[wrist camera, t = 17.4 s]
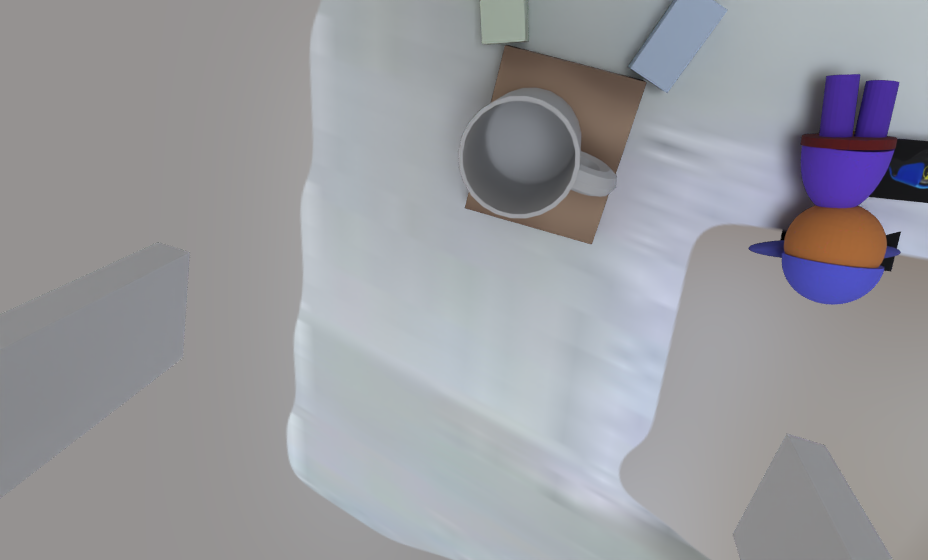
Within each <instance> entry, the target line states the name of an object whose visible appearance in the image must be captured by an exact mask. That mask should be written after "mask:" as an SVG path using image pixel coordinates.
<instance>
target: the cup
mask: <svg viewBox="0 0 928 560" xmlns="http://www.w3.org/2000/svg"><path fill="white" fill-rule="evenodd" d="M458 156H459V169H460V173H461V176H462V179H463V182H464V184H465V186H466V187H467V189H468V191H469V192H470V194H471V196H472V197H473V198H474V199H475V200H476V201H477V202H479V203H480V204H481V205H482V206H483V207H484V208H486V209H488V210H490V211H491V212H493V213H495V214H497V215H501V216H505V217H508V218H529V217H534V216H538V215H541V214H543V213H545V212H547V211H549V210H551V209H552V208H554V207H556V206H557V205H558V204H559V203H560V202H561V201H562V200H563V199H564V198H565V197H566V196H567V194H568V193H569V191H570V190H573V191H575V192H578V193H581V194H584V195H588V196H599V197H601V196H607V195H608V194H609V193H610V192H611V191H613V190H614V189H615V188H616V174H615V173H614V172H613V171H612V170H611V169H610V167H609V166H608V165H607V164H605V163H604V162H603V161H601V160H599V159H598V158H596V157H594V156H592V155H589V154H587V153H585V152H582V151H581V130H580V126H579V121H578V119H577V117H576V115H575V113H574V111H573V110H572V108H571V107H570V106H569V105H568V104H567V102H566V101H565V100H564V99H563V98H561V97H560V96H558V95H556V94H555V93H553V92H551V91H548V90H544V89H540V88H521V89H518V90H514V91H511V92H509V93H507V94H505V95H504V96H502V97H500V98H498V99H497V100H495V101H493V102H492V103H490V104H489V105H487V106H485V107H484V108H482V109H481V110H480V111H479V112H478V113H477V114H476V115H475V116H474V117H473V118H472V119H471V120H470V121H469V123H468V125H467V127H466V129H465V131H464V133H463V135H462V137H461V142H460V146H459V151H458Z"/></svg>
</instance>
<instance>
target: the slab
mask: <svg viewBox="0 0 928 560" xmlns="http://www.w3.org/2000/svg"><path fill="white" fill-rule="evenodd" d="M646 83H647V82H645V81H643V80H640V79H636V78H632V77H628V76H624V75H620V74H617V73H613V72H609V71H605V70H601V69H598V68H594V67H590V66H586V65H582V64H578V63H575V62H571V61H567V60H563V59H559V58H555V57H552V56H548V55H544V54H540V53H536V52H532V51H529V50H525V49H521V48H517V47H513V46H510V45H505V47H504V52H503V56H502V60H501V64H500V68H499V72H498V76H497V80H496V84H495V88H494V92H493V96H492V100H491V103H492V102H493V101H495V100H497V99H498V98H500V97H502V96H504V95H505V94H507V93H509V92H511V91H514V90H518V89H521V88H540V89H544V90H548V91H551V92H553V93H555V94H556V95H558V96H560V97H561V98H563V99H564V100H565V101H566V102H567V104H568V105H569V106H570V107H571V108H572V110H573V111H574V113H575V115H576V117H577V119H578V121H579V126H580V130H581V151H582V152H585V153H587V154H589V155H592V156H594V157H596V158H598V159H599V160H601V161H603V162H604V163H605V164H607V165H608V166H609V167H610V169H611V170H612V171H613V172H614V173H615V174H616V171H617V168H618V165H619V163H620V160H621V157H622V154H623V151H624V148H625V145H626V142H627V139H628V136H629V133H630V130H631V127H632V124H633V121H634V118H635V115H636V112H637V109H638V106H639V103H640V101H641V98H642V95H643V92H644V89H645V86H646ZM608 195H609V194H608ZM608 195H607V196H601V197H599V196H588V195H584V194H581V193H578V192H575V191H573V190H570V191H569V193H568V194H567V196H566V197H565V198H564V199H563V200H562V201H561V202H560V203H559V204H558V205H557V206H556V207H554V208H552V209H551V210H549V211H547V212H545V213H543V214H541V215H538V216H534V217H529V218H508V217H505V216H501V215H497V214H495V213H493V212H491V211H490V210H488V209H486V208H484V207H483V206H482V205H481V204H480V203H479V202H477V201H476V200H475V199H474V198H473V197H472V196H471V194H470V192H469V193H468V197H467V201H466V205H465V208H466V209H470V210H473V211H477V212H480V213H484V214H487V215H491V216H494V217H498V218H501V219H505V220H508V221H512V222H515V223H519V224H522V225H526V226H529V227H533V228H536V229H540V230H543V231H547V232H550V233H554V234H557V235H561V236H564V237H568V238H571V239H574V240H578V241H581V242H585V243H588V244H592V242H593V239H594V236H595V233H596V230H597V228H598V225H599V222H600V219H601V216H602V213H603V210H604V207H605V204H606V201H607V198H608Z"/></svg>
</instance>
